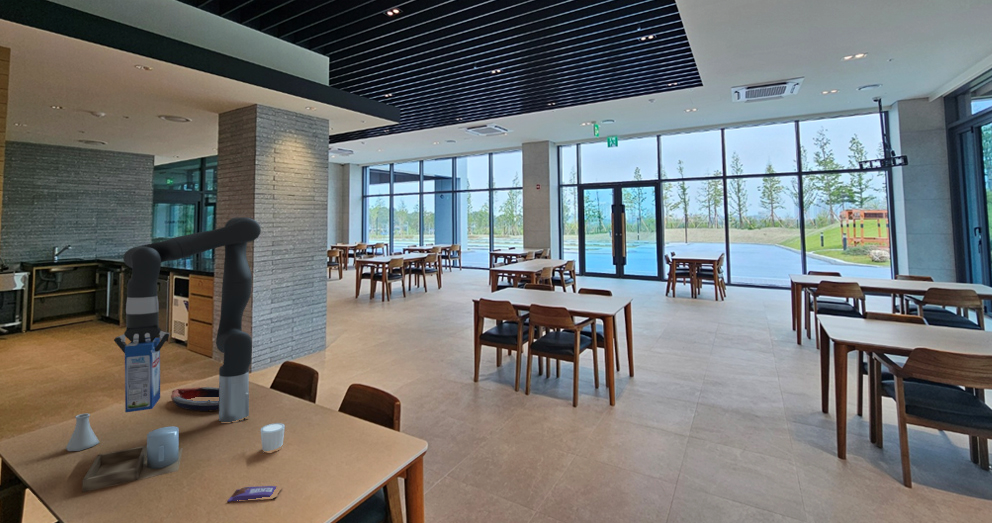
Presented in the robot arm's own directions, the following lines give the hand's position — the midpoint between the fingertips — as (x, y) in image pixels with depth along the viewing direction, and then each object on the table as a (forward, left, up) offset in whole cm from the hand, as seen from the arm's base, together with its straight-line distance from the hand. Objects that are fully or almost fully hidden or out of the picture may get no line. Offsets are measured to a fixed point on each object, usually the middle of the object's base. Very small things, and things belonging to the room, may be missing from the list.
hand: (143, 365), depth 124 cm
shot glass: (-34, +20, -27) cm, 48 cm away
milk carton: (0, 0, -13) cm, 13 cm away
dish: (-14, -34, -27) cm, 46 cm away
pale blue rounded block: (-6, +16, -25) cm, 30 cm away
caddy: (-1, +16, -27) cm, 31 cm away
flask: (+16, -12, -27) cm, 33 cm away
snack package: (-28, +45, -27) cm, 60 cm away
